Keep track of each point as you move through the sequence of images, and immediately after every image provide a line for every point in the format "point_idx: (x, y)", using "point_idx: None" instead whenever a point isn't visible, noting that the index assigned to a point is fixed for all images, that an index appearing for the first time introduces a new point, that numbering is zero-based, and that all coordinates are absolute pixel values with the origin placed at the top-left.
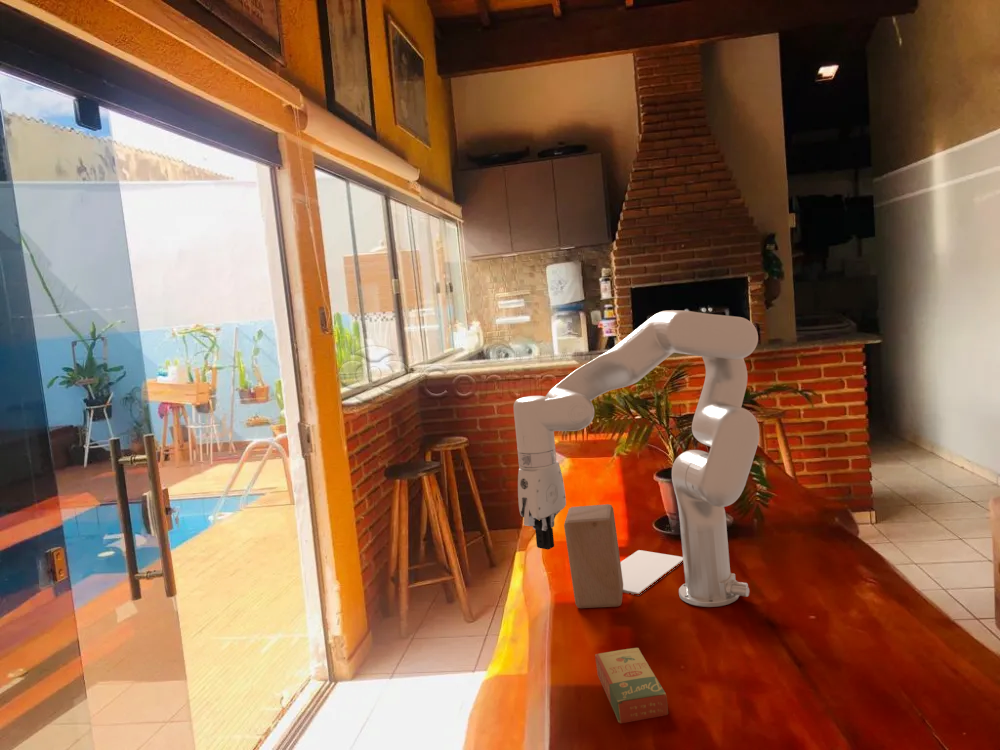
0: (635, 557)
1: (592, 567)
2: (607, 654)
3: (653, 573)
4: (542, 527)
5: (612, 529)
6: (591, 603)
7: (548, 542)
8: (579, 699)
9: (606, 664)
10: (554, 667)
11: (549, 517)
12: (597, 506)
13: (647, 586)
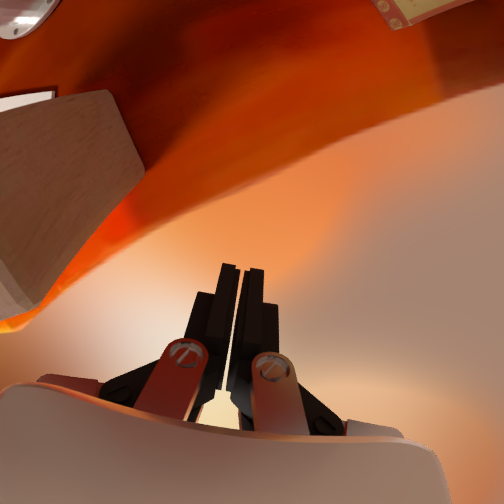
0: None
1: (84, 154)
2: (405, 1)
3: None
4: (295, 383)
5: None
6: (131, 144)
7: (262, 293)
8: (465, 50)
9: (437, 1)
10: (394, 114)
11: (190, 409)
12: None
13: (27, 94)
